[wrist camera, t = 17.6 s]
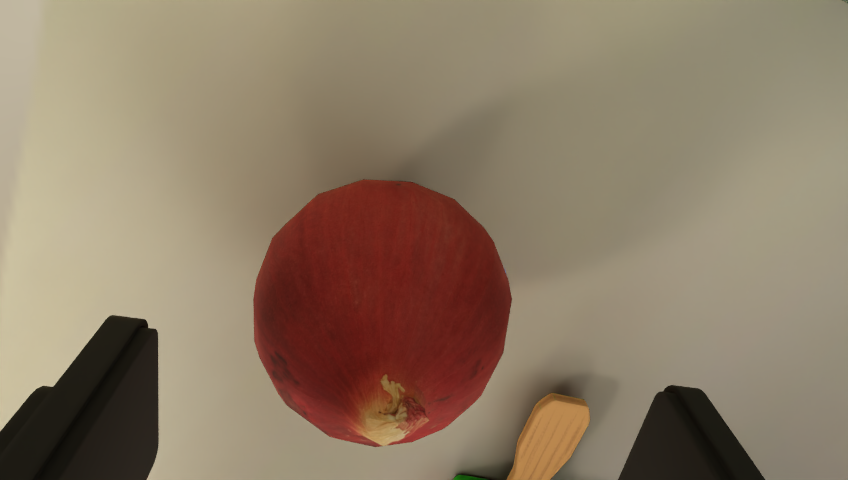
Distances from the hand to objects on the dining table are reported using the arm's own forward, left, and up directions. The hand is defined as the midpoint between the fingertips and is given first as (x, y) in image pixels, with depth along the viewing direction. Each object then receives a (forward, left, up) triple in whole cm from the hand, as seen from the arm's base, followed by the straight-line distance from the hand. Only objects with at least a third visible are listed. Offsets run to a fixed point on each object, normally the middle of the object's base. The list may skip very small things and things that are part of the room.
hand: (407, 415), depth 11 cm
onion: (-1, 0, -7) cm, 7 cm away
